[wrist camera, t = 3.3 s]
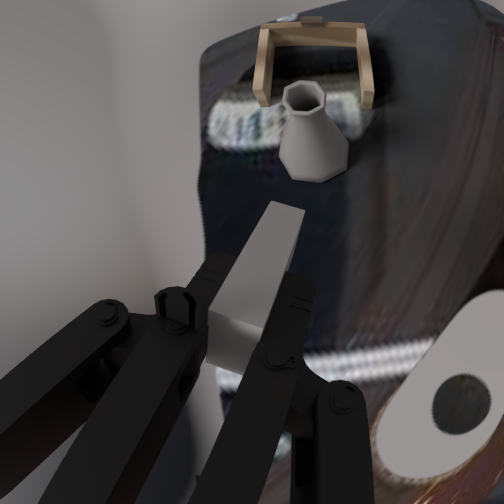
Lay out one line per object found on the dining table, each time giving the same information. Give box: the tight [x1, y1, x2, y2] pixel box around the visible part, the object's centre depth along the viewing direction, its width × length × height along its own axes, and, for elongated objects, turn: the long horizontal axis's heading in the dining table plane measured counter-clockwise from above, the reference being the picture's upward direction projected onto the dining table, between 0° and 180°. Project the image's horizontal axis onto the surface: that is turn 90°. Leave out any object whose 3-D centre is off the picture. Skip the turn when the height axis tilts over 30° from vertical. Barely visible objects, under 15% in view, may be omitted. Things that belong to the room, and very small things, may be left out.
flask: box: [279, 80, 349, 183], centre depth 24 cm, size 7×7×10 cm
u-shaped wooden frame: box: [253, 17, 374, 109], centre depth 27 cm, size 11×12×4 cm
